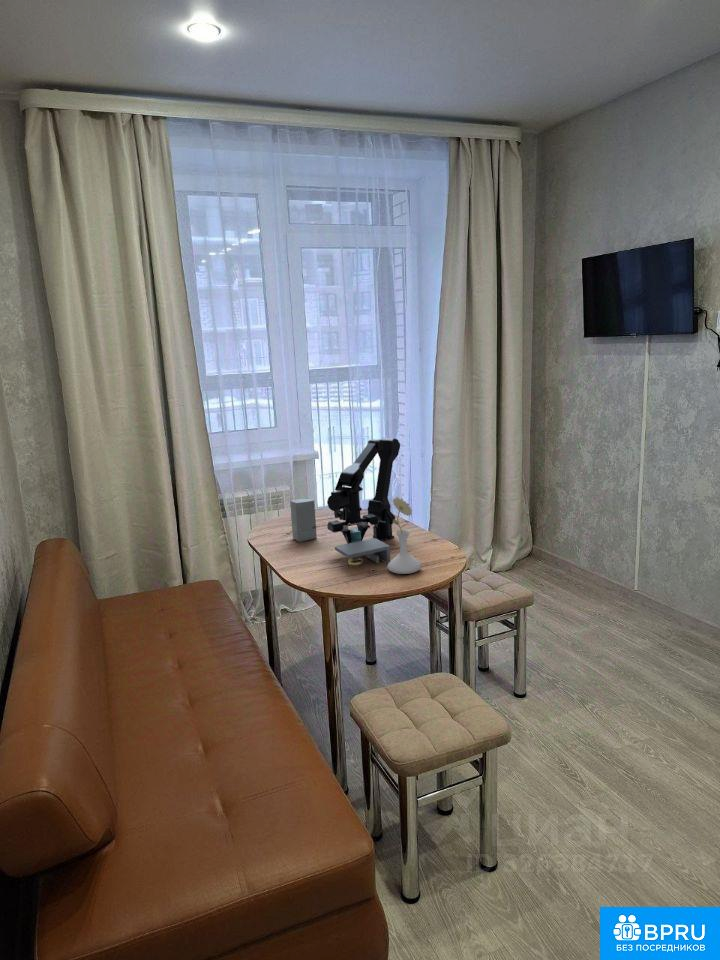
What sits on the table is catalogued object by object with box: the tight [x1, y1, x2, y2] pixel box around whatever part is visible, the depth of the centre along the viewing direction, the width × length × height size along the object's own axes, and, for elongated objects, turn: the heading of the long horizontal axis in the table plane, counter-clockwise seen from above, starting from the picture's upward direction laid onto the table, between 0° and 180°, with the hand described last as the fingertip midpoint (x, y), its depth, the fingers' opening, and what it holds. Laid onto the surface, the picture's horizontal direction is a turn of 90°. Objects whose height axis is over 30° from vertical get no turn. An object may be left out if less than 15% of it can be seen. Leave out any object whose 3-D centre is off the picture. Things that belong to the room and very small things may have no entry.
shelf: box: [334, 537, 391, 564], centre depth 231 cm, size 16×11×6 cm
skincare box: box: [289, 497, 318, 543], centre depth 262 cm, size 8×7×16 cm
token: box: [347, 557, 363, 568], centre depth 230 cm, size 5×5×2 cm
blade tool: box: [349, 528, 380, 564], centre depth 238 cm, size 4×20×7 cm, turn 26°
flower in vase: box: [387, 496, 422, 575], centre depth 219 cm, size 13×11×25 cm
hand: (354, 545), depth 246 cm, fingers closed on blade tool, 4 cm apart
